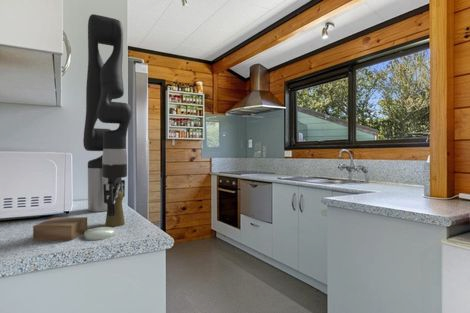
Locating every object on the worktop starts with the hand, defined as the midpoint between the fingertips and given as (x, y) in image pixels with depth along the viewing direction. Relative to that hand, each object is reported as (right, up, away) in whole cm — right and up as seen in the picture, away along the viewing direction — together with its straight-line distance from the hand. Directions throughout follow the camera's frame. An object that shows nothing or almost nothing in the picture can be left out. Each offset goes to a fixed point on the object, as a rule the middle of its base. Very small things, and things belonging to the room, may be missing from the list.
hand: (115, 213), depth 98 cm
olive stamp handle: (0, -4, 0) cm, 4 cm away
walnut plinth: (-10, -4, -13) cm, 17 cm away
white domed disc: (+1, -4, -13) cm, 14 cm away
